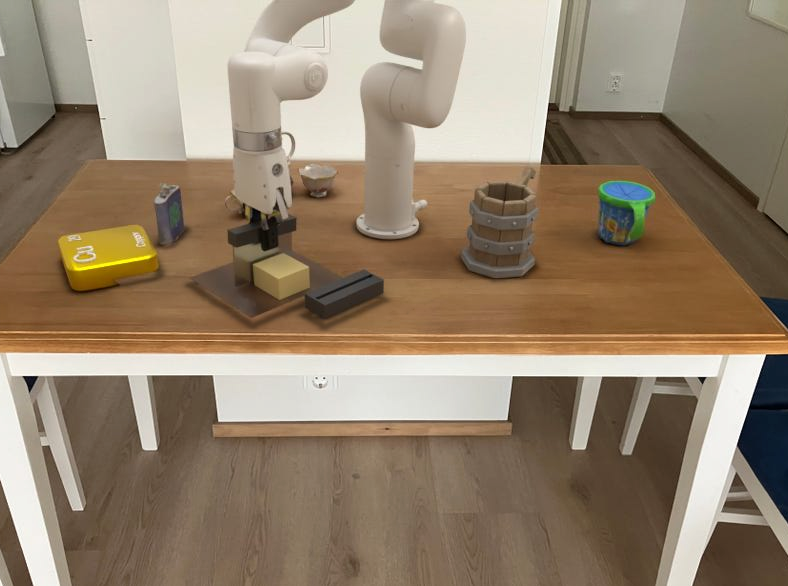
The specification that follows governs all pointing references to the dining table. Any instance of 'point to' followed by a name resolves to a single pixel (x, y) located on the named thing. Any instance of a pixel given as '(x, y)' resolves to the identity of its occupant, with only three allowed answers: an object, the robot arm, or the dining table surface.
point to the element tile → (106, 256)
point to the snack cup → (623, 211)
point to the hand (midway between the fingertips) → (264, 244)
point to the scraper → (256, 247)
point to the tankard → (502, 228)
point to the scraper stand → (344, 293)
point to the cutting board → (253, 297)
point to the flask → (169, 214)
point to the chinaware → (304, 177)
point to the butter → (281, 276)
